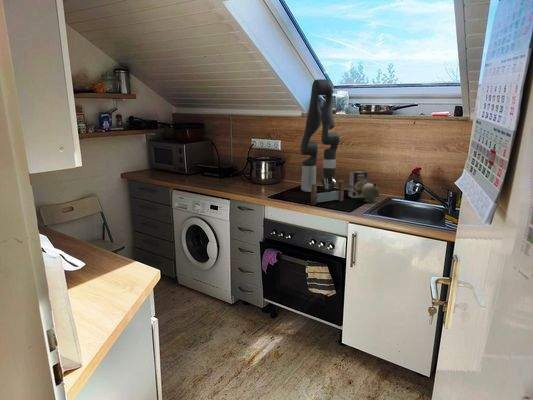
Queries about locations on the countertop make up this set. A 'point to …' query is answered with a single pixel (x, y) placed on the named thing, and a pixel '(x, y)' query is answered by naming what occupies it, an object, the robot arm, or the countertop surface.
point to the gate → (327, 196)
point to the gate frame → (314, 190)
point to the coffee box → (357, 183)
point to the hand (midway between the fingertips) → (327, 195)
